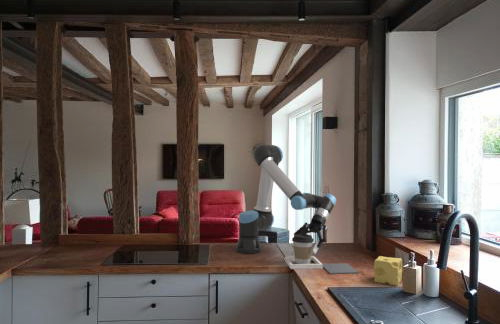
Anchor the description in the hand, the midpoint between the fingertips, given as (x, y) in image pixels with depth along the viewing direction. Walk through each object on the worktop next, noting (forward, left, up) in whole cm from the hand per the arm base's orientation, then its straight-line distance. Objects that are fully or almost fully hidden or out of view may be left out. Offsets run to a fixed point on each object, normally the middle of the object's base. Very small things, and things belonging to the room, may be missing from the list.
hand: (303, 249), depth 194 cm
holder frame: (-1, 0, -8) cm, 8 cm away
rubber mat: (+9, +16, -8) cm, 20 cm away
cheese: (+29, +32, -8) cm, 44 cm away
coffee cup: (-1, 0, -8) cm, 8 cm away
